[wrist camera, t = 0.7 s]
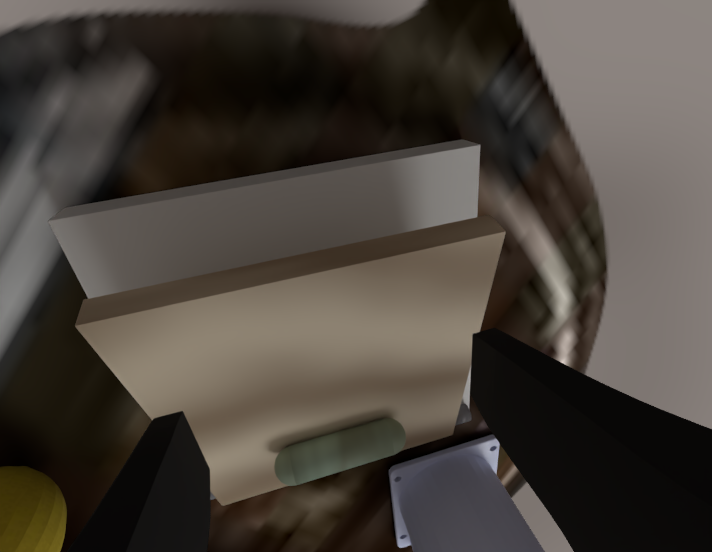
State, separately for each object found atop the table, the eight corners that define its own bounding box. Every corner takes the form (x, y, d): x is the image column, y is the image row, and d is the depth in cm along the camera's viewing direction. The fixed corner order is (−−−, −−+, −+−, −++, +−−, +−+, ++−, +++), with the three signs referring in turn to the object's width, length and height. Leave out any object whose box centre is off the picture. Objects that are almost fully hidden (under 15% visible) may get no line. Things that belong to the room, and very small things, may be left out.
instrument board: (444, 418, 23) (466, 463, 21) (221, 485, 21) (223, 541, 19) (489, 214, 13) (535, 263, 11) (83, 299, 11) (58, 376, 9)
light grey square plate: (457, 400, 25) (475, 428, 23) (197, 476, 22) (193, 516, 20) (462, 139, 17) (491, 148, 15) (64, 207, 15) (37, 229, 13)
